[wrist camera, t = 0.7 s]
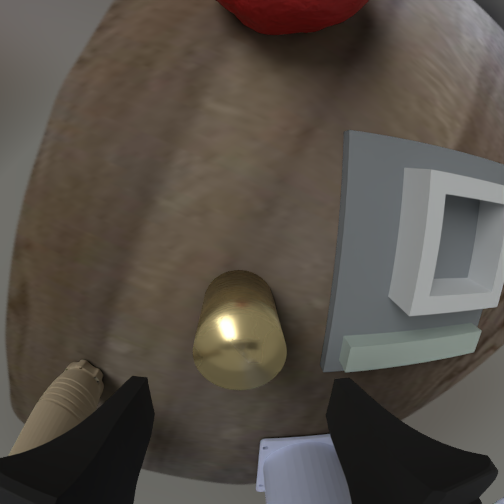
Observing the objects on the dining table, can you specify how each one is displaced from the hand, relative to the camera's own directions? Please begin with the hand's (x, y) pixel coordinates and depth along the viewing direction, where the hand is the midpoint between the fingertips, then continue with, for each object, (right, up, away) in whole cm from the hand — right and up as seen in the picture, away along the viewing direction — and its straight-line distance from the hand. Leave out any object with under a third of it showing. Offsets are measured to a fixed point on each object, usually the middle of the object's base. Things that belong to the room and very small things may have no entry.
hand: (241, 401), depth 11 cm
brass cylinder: (0, +2, +9) cm, 9 cm away
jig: (+13, +5, +9) cm, 16 cm away
